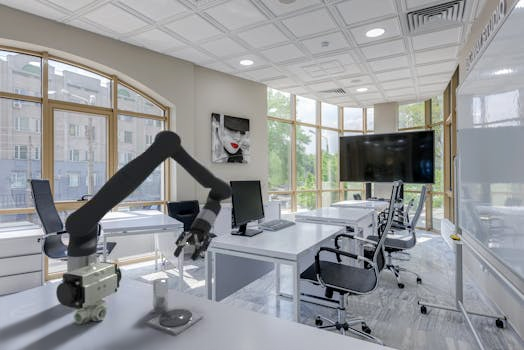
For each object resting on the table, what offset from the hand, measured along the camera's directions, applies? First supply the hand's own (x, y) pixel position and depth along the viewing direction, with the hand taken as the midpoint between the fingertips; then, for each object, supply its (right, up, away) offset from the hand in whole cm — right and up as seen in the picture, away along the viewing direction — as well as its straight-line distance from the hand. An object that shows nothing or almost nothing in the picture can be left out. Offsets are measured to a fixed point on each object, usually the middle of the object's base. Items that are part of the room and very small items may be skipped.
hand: (183, 258), depth 111 cm
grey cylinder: (-5, -15, -10) cm, 19 cm away
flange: (+2, -15, -17) cm, 23 cm away
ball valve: (-25, -15, -16) cm, 33 cm away
